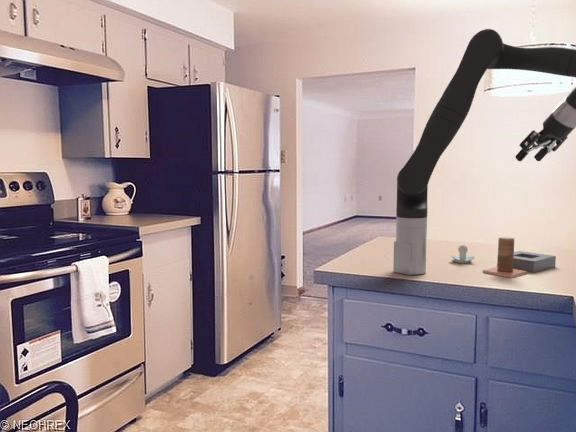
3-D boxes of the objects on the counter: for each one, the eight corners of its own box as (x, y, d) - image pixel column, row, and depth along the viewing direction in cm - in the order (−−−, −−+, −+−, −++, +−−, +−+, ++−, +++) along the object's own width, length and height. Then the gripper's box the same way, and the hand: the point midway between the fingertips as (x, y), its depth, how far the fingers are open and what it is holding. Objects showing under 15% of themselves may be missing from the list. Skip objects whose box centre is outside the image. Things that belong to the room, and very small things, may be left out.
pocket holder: (533, 272, 151) (534, 261, 150) (497, 266, 160) (497, 255, 160) (555, 266, 159) (555, 256, 159) (519, 260, 169) (519, 250, 168)
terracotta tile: (511, 278, 144) (511, 275, 144) (482, 272, 151) (482, 270, 151) (526, 273, 149) (526, 271, 149) (498, 268, 156) (498, 266, 156)
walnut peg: (508, 273, 147) (509, 240, 146) (494, 270, 150) (495, 238, 149) (515, 270, 149) (517, 238, 148) (502, 268, 153) (503, 236, 152)
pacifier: (450, 260, 171) (451, 263, 165) (450, 243, 171) (452, 245, 165) (472, 261, 169) (474, 264, 164) (472, 243, 169) (475, 245, 163)
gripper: (572, 110, 143) (535, 151, 155) (540, 108, 137) (504, 150, 148) (589, 127, 139) (549, 168, 150) (557, 126, 133) (518, 168, 144)
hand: (527, 159), depth 149 cm, fingers open, 8 cm apart
